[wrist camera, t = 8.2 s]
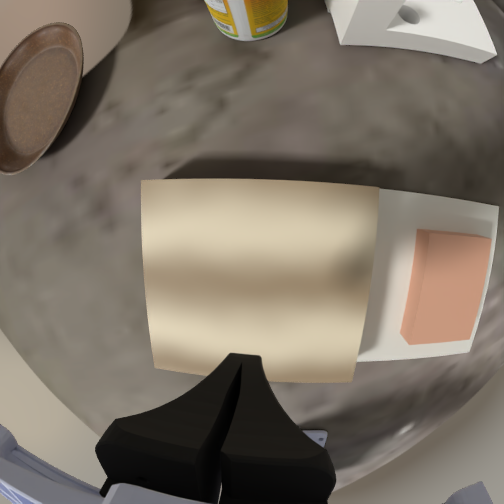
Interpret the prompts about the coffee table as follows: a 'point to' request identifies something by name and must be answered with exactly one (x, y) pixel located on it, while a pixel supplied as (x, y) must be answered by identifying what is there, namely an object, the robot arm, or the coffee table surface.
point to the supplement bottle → (248, 17)
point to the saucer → (37, 93)
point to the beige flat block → (258, 274)
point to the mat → (400, 267)
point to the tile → (445, 286)
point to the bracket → (414, 26)
